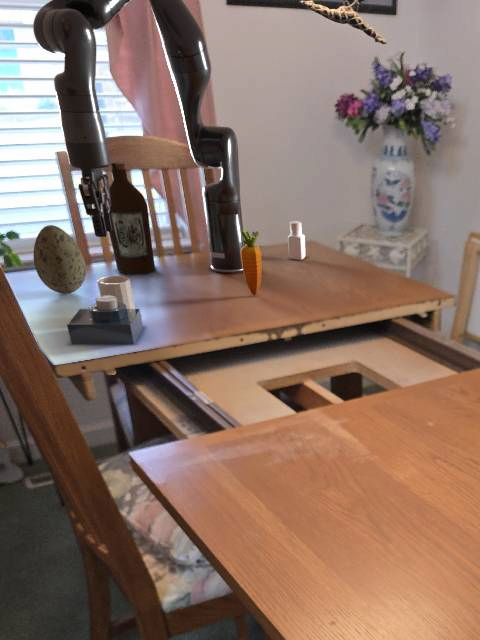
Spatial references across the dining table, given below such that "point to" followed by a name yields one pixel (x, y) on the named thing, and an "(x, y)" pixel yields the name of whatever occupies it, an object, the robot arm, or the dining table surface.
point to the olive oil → (129, 225)
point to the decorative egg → (58, 260)
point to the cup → (117, 289)
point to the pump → (106, 302)
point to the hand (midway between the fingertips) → (104, 233)
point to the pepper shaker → (296, 241)
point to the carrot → (251, 262)
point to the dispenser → (105, 326)
